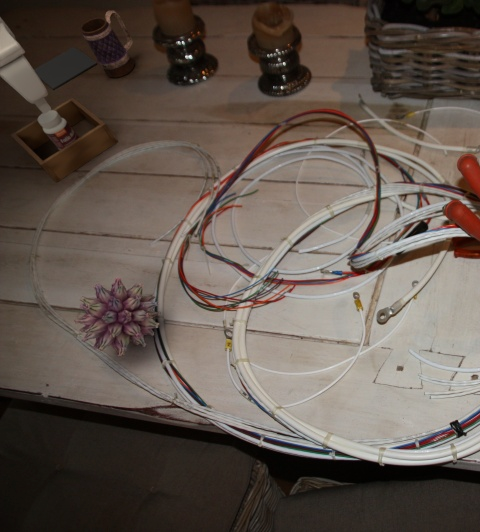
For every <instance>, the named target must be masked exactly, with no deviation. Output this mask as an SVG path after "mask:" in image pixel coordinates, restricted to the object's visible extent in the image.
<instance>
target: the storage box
mask: <svg viewBox="0 0 480 532" xmlns="http://www.w3.org/2000/svg"><path fill="white" fill-rule="evenodd" d="M52 110H54V111H56V112H57V113H58V114H59V115H60V117H61V118H64V119H65V120H66V121H67V123H68V124H69V125H70V126H71V128H72V127H73V126H75V125H76V124H78V123H79V122H81V121H83V120H85V121H87V122H88V123H89V124H91V126H93V127H94V128H92V129H91V130H89V131H87V132H86V133H84V134H83V135H81V136H80V137H79V138H78V139H77V140H75V141H74V142H72V143H70V144H69V145H67V146H66V147H64V148H63V149H61V150H58V151H56V152H55V153H53V154H52V155H50V156H49V157H47V158H45V159H44V160H43V159H42V158H40V156H39V155H38V154H37V153H36V152H35V150H37V149H39V148H40V147H41V146H43V145H44V144H46V143H48V142H50V141H51V139H50V138H49V137H48V136H47V135H46V134H45V132H44V131H43V127H42V126H41V125H40V124H39V122H38V118H36V119H34V120H33V121H32V122H30V123H28V124H26V125H24V126H23V127H21V128H20V129H18V130H16V131H14V132H13V133H11V135H10V136H11V137H12V138H13V139H14V140H15V142H16V143H18V145H19V146H20V147H21V148H22V149H23V150H24V151H25V153H27V155H28V156H30V157H31V159H33V161H35V162H36V163H37V164H38V165H39V166H40V167H41V168H42V169H43V170H44V171H45V172H46V173H47V174H48V175H49V177H51V178H52V179H53V180H54V181H55V182H56V183H58V182H60V181H61V180H63V179H64V178H66V177H68V175H71V174H72V173H74V172H75V171H77V170H78V169H80V168H81V167H83V166H84V165H85V164H87V163H88V162H90V161H91V160H93V159H94V158H96V157H98V156H99V155H101V154H102V153H103V152H105V151H106V150H108V149H109V148H111V147H113V146H114V145H115V144H117V143H118V142H119V141H118V139H117V138H116V137H115V135H114V134H113V133H112V131H111V129H109V127H108V125H107V124H106V123H105V122H104V121H103V120H101V119H100V118H99V117H98V116H97V115H95V114H94V113H93V112H92V111H91V110H89V109H88V108H87V107H86V106H84V105H83V104H81V103H80V102H79V101H78V100H77V99H76V98H74V97H71V98H69V99H68V100H66V101H64V102H62V103H61V104H59V105H57V106H56V107H54V108H52Z"/></svg>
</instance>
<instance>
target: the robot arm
mask: <svg viewBox="0 0 480 532" xmlns="http://www.w3.org/2000/svg"><path fill="white" fill-rule="evenodd" d="M25 53H26V51H25V49H24V47H22V45H21V44H20V43H19V42H18V40H17V39H16V36H15V34H14V32H13V31H12V30H11V29H10V27H9V26H8V25H7V23H6V22H5V21H4V20H3V18H2V17H1V16H0V78H1V79H2V80H3V81H5V82H6V83H7V84H8V85H9V86H10V87H11V88H12V89H14V90H15V92H17V93H18V94H19V95H20V96H21V97H22V98H24V99H25V100H26V101H27V102H28V103H30V104H31V105H35V106H36V108H37V109H38V110H39V111H40V112H41V114H42V113H47V112H49V111H50V110H52V107H51V105H50V104H49V103H48V102H47V100H46V97H47V96H49V92H48V89H47V88H46V85H45V84H44V82H43V81H42V80H41V79H40V78H39V77H38V75H37V74H36V72H35V71H34V69H35V68H33V66H32V65H31V63H30V62H29V61H28V59H27V58H26V56H25V55H24V54H25Z"/></svg>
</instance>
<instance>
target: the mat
mask: <svg viewBox="0 0 480 532" xmlns="http://www.w3.org/2000/svg"><path fill="white" fill-rule="evenodd" d="M97 65H98V62H96V61H95V60H94V59H92V58H90V57H89V56H88V55H86V53H84V52H82V51H81V50H80V49H78V48H77V47H75V46H72V47H70V48H69V49H67V50H65V51H64V52H62V53H60V54H58V55H57V56H54V57H53V58H51V59H50V60H48V61H46V62H44V63H43V64H41V65H39V66H37V67H36V68H33V69H34V71H35V72H36V74H37V75H38V77H39V78H40V80H41V81H42V83H45V85H47V86H48V87H49V88H50V89H52V90H53V91H55V90H57V89H58V88H60V87H62V86H63V85H65V84H67V83H68V82H70V81H72V80H73V79H75V78H77V77H78V76H80V75H82V74H83V73H86V72H88V70H90V69H92V68H94V67H95V66H97Z"/></svg>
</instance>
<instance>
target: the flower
mask: <svg viewBox="0 0 480 532" xmlns="http://www.w3.org/2000/svg"><path fill="white" fill-rule="evenodd" d="M144 287H145V285H144V284H143V283H141V282H140V283H134V285H133V286H132V287H130V288H128V289H127V288H126V287H125V285H124V283H123V282H122V278H121V277H117V278H115V279H114V283H112V284H111V289H110V290H109V289H108V288H105V287H104V286H103V285H102V284H100V283H98V284H96V285H94V286H93V289H94V290H95V295H96V297H86V296H83V295H82V296H81V297H80V299H79V301H80V302H81V303H80V305H79V309H82V311H84V313H85V314H84V315H82V316H81V317H79V318H75V319H73V322H74V324H82V325H84V326H83V327H81V328H79V332H80V333H82V334H83V333H86V334H85V335H84V336H83V337H82V338H81V342H84V343H85V342H88V340H89V341H90V340H94V339H95V342H94V344H93V346H92V347H93V348H94V350H98V351H100V352H103V351H104V350H105V348H108V347H109V346H111V347H112V348H113V349H114V350H115V351H116V355H117V357H120V356H121V357H123V356H125V352H126V351H127V350H128V349H127V348H128V346H129V344H130V342H131V343H133V344H134V345H135V346H138V345H140V346H141V347H143V348H144V347H145V348H146V347H147V345H148V343H147V342H146V341H145V336H147V335H149V336H151V337H153V336H155V334H154V333H155V332H154V331H153V329H158V328H159V326H160V323H159V322H157V321H155V320H154V318H156V317H159V316H160V315H161V312H160V311H154V309H155V308H156V307H158V306H159V301H153V300H154V299H155V298H156V295H155V293H151V294H150V295H144V291H143V289H144Z"/></svg>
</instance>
